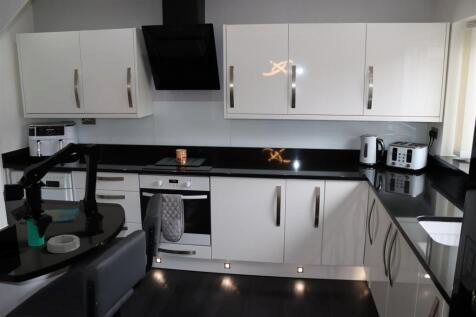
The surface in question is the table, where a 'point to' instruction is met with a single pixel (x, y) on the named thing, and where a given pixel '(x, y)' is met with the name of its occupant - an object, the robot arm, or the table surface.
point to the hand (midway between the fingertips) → (36, 235)
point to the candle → (33, 234)
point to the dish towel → (61, 215)
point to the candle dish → (63, 244)
